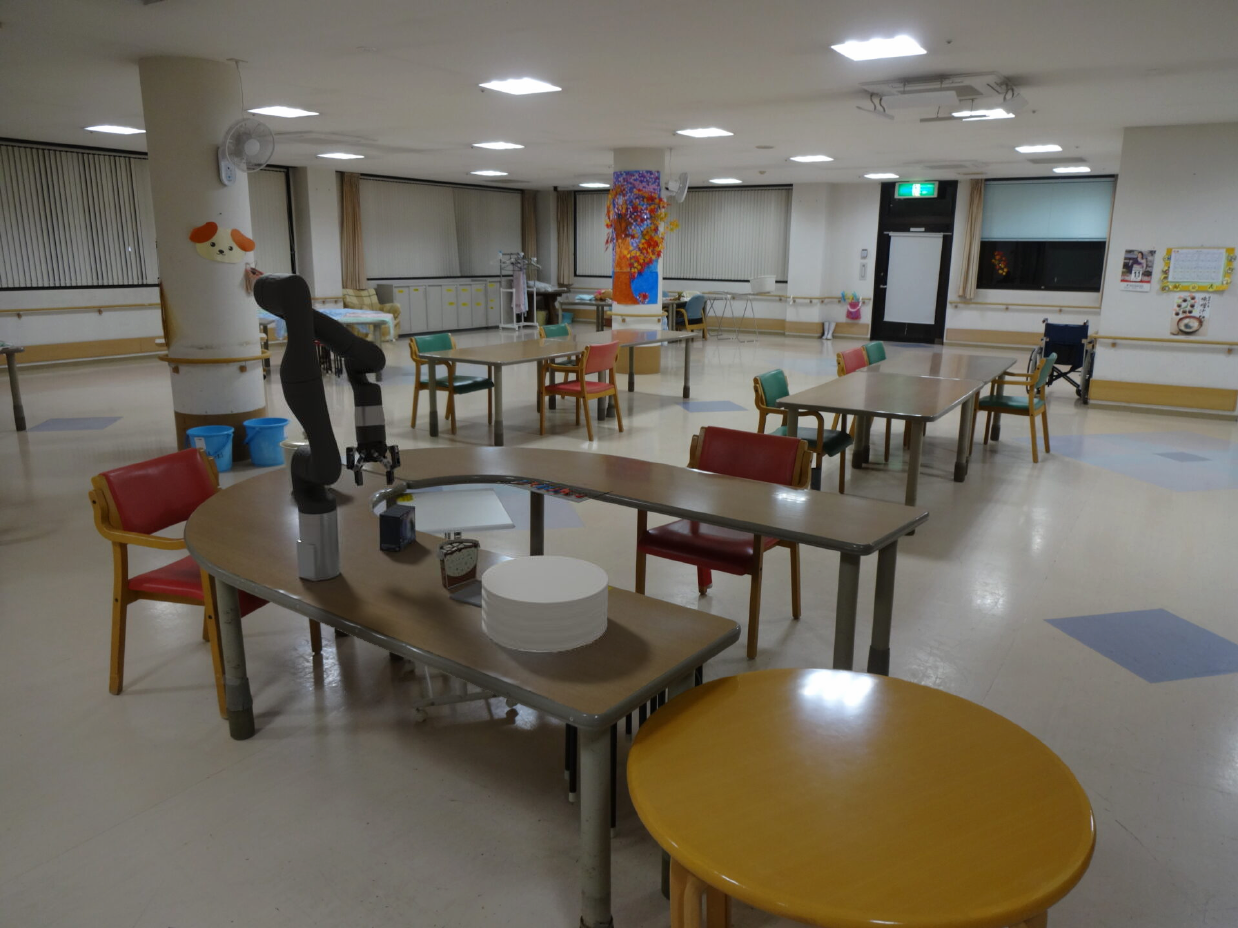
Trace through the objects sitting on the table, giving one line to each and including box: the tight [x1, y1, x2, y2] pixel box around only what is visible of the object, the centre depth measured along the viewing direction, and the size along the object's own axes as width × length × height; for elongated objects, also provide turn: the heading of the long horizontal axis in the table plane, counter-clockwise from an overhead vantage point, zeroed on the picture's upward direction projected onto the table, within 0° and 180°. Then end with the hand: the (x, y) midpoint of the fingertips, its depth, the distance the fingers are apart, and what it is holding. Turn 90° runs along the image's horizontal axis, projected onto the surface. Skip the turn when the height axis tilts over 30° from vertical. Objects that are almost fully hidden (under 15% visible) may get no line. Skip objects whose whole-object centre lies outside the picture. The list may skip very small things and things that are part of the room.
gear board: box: [496, 480, 592, 504], centre depth 306 cm, size 45×2×19 cm
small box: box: [378, 503, 417, 553], centre depth 239 cm, size 11×6×10 cm, turn 168°
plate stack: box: [481, 555, 609, 651], centre depth 192 cm, size 28×28×12 cm
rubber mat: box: [449, 579, 482, 608], centre depth 211 cm, size 18×10×1 cm, turn 149°
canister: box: [279, 429, 338, 491], centre depth 288 cm, size 18×18×21 cm
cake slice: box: [435, 538, 481, 590], centre depth 215 cm, size 12×6×10 cm, turn 141°
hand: (375, 485), depth 225 cm, fingers open, 8 cm apart
